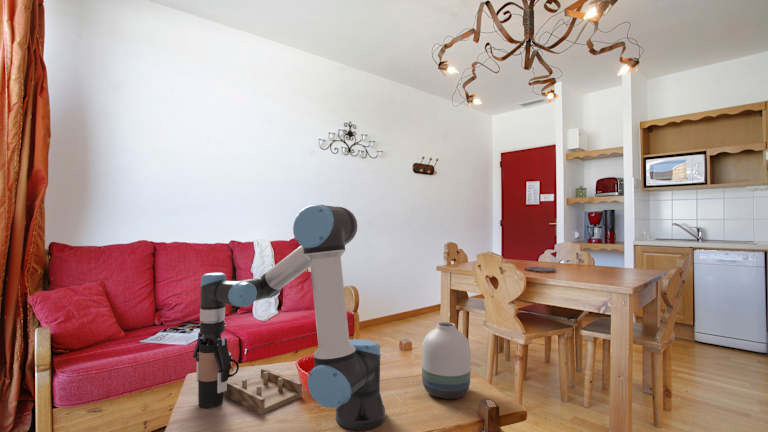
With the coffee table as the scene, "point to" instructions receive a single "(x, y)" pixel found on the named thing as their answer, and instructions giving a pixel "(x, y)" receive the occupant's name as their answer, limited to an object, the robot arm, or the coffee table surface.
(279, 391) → the peg stand
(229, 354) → the mug
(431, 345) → the vase
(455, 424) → the coffee table surface
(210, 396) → the travel mug
